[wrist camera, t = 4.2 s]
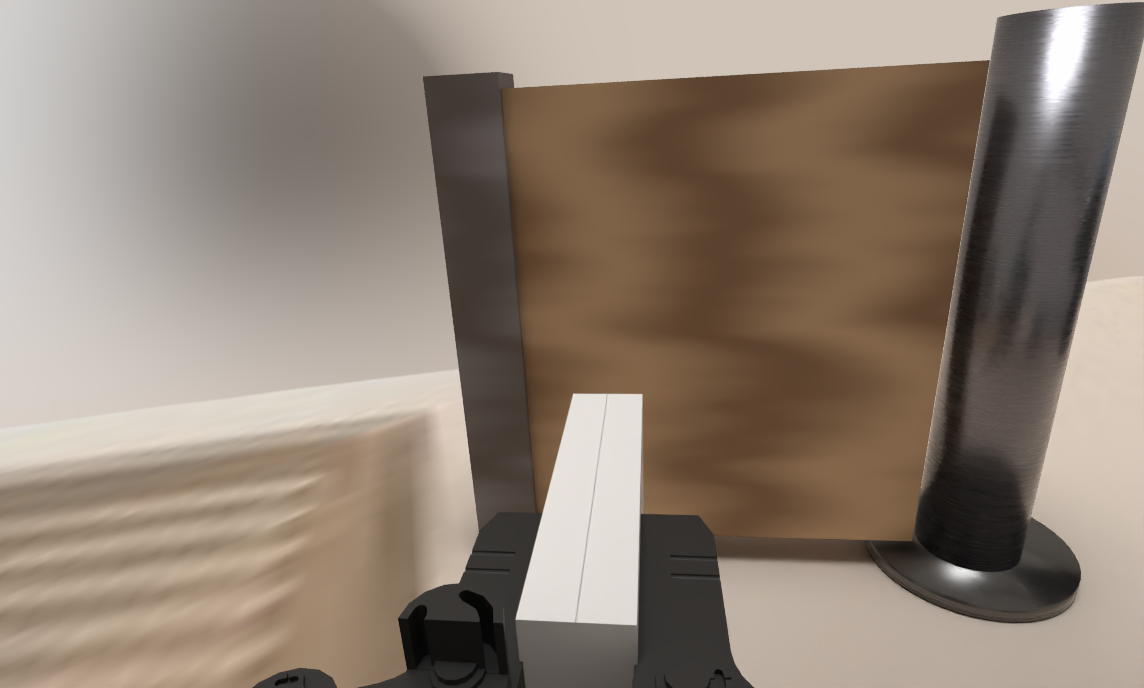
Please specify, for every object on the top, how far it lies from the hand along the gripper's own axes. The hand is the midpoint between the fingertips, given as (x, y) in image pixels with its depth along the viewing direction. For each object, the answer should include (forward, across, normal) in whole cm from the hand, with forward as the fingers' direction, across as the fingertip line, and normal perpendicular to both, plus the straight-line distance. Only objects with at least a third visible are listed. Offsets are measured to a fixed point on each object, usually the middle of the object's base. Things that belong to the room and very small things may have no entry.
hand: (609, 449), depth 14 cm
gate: (+6, +2, -6) cm, 9 cm away
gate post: (+6, +11, -7) cm, 15 cm away
